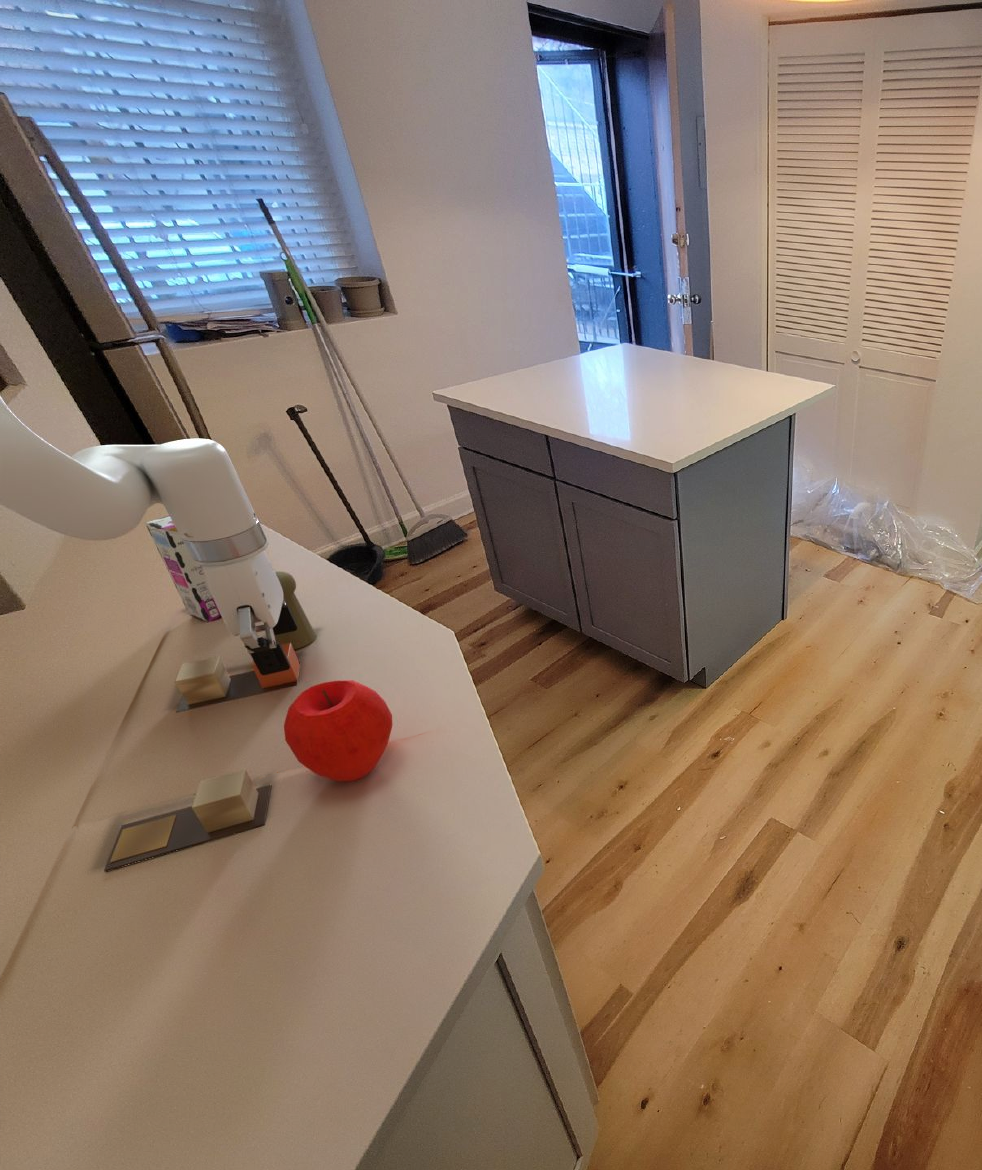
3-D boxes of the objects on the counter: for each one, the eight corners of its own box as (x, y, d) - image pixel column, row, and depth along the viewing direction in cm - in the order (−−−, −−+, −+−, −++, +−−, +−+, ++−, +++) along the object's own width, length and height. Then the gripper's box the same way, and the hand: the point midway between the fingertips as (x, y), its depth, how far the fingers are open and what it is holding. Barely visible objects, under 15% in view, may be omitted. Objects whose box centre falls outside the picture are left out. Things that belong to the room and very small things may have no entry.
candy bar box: (210, 624, 99) (163, 529, 91) (188, 616, 101) (141, 522, 92) (281, 591, 108) (245, 502, 100) (261, 584, 110) (224, 496, 101)
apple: (414, 735, 82) (389, 659, 75) (387, 796, 73) (357, 716, 67) (328, 742, 80) (296, 665, 74) (291, 805, 72) (250, 724, 65)
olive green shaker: (258, 646, 95) (233, 579, 90) (298, 628, 100) (276, 564, 95) (286, 654, 93) (262, 586, 88) (326, 635, 98) (305, 570, 93)
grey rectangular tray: (177, 713, 83) (162, 688, 80) (187, 686, 87) (173, 661, 85) (297, 686, 88) (287, 662, 86) (301, 662, 93) (291, 638, 91)
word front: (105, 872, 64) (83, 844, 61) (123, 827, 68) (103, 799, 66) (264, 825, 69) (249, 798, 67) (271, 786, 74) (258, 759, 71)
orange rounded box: (262, 688, 87) (251, 665, 85) (266, 672, 90) (255, 649, 88) (297, 680, 89) (287, 658, 87) (300, 664, 92) (290, 642, 90)
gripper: (203, 519, 84) (257, 625, 93) (171, 580, 71) (236, 697, 80) (272, 508, 87) (317, 612, 96) (253, 566, 74) (307, 679, 83)
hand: (280, 650), depth 88 cm, fingers open, 9 cm apart
